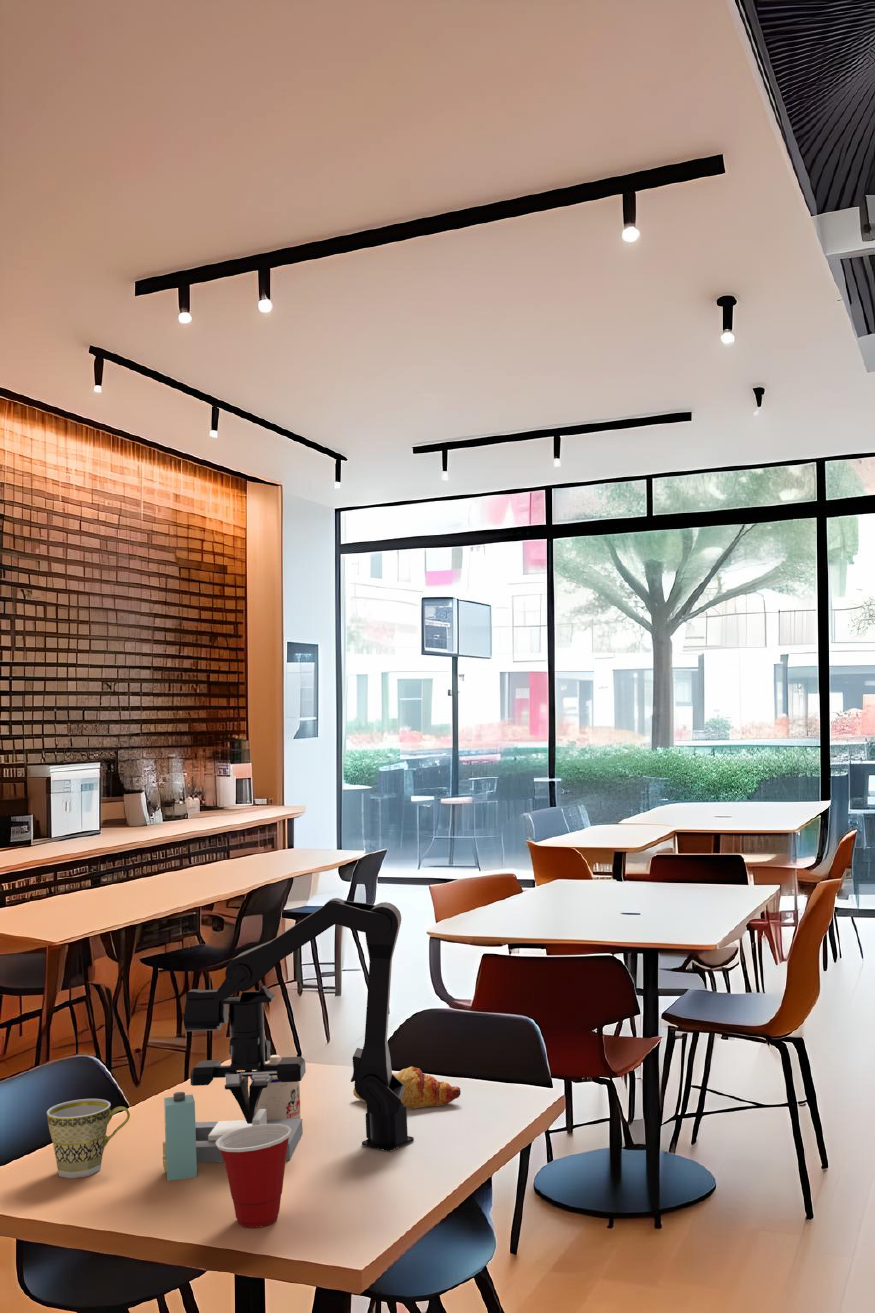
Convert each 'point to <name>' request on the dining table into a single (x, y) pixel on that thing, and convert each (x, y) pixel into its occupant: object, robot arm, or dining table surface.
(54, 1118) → the ceramic cup
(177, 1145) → the teal rectangular bottle
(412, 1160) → the dining table surface
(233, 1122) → the panel
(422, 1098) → the croissant
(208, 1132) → the socket plate
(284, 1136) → the plastic cup
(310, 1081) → the dining table surface
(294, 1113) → the teacup with lid
